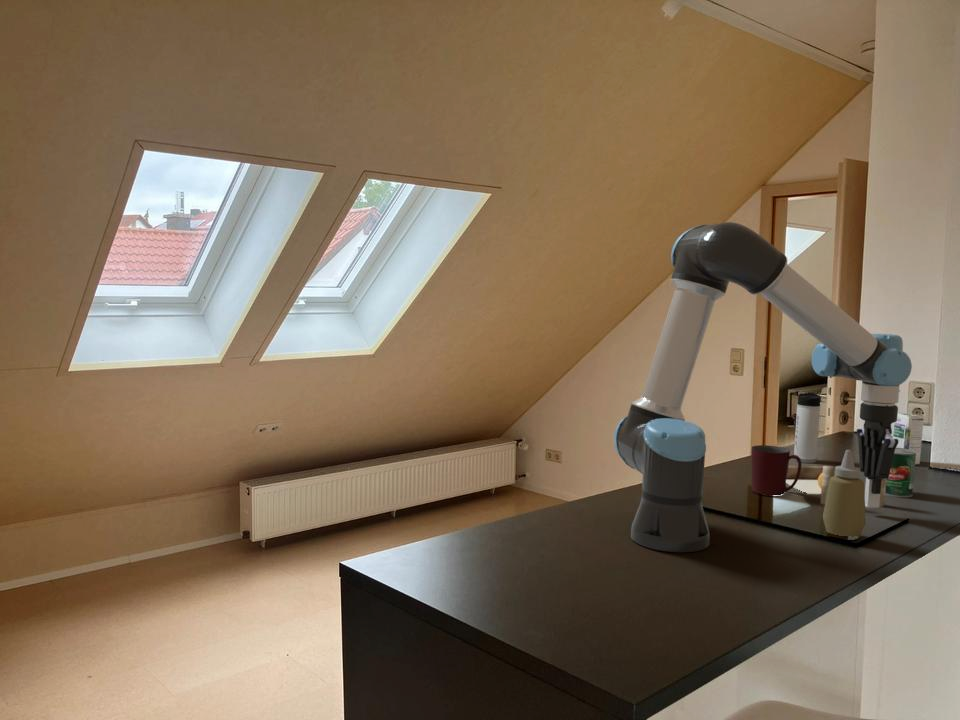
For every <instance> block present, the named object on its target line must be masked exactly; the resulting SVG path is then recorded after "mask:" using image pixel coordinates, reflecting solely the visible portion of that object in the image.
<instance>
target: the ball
mask: <svg viewBox="0 0 960 720" xmlns="http://www.w3.org/2000/svg"><path fill="white" fill-rule="evenodd" d="M822 474H823V473H821V474H820V475H819V477H818V479H817V480H818V485H819V487H820V488H821V489H822ZM835 476H836V475H835Z"/></svg>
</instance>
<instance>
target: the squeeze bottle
mask: <svg viewBox="0 0 960 720" xmlns="http://www.w3.org/2000/svg"><path fill="white" fill-rule="evenodd" d="M854 461H855V460H854V455H853V450H851V449H846V450H845V451H844V455H843V457H842V462H841V464H840V465H837V466H834V467H835V475H836V476H833V477H831V478H830V480H829V485H828V491H827V496H826V502H825V506H824V509H823V513H822V519H823V524H824V527H825V531H826V533H827V532H828V533H831V534H834V535H839V536H852V537H854V536H859V535H860V536H861V535H862V532H863V530H864V527H865V526H866V506H865V481H864V480H863V479H861V478H860V477H861V471H860V468H858V467H855V462H854Z"/></svg>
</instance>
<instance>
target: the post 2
mask: <svg viewBox="0 0 960 720" xmlns="http://www.w3.org/2000/svg"><path fill="white" fill-rule="evenodd" d="M885 490H886V479H883V480H882V481H881V492H880V502H879V508H880V507H885V503H886V502H885V500H886V495H885Z"/></svg>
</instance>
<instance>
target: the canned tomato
mask: <svg viewBox="0 0 960 720" xmlns="http://www.w3.org/2000/svg"><path fill="white" fill-rule="evenodd" d="M915 460H916V451H913V450H910V449H904V448H895V452H894V456H893V460H892V465H891V469H890V473H889V477H888V479H886V490H885V496H886V497H887V496H889V497H895V498H912V497H914V495H913V492H914V483H915V482H914V481H915V471H916V468H915V467H916V464H915Z"/></svg>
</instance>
